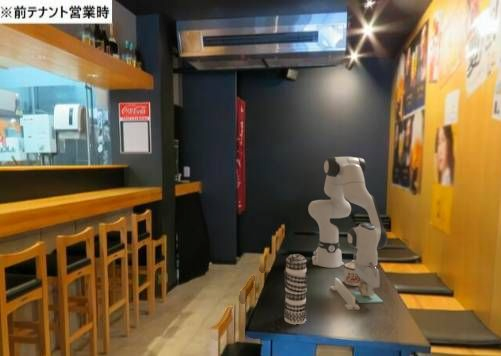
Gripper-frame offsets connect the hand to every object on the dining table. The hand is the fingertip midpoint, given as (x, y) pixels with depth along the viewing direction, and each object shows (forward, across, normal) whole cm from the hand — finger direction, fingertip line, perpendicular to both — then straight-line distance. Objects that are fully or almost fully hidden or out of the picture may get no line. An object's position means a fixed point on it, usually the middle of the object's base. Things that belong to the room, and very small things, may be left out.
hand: (366, 289), depth 152 cm
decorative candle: (+4, -20, +36) cm, 41 cm away
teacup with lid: (+4, +18, -2) cm, 18 cm away
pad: (+4, 0, 0) cm, 4 cm away
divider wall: (+4, 0, +10) cm, 11 cm away
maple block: (+2, 0, 0) cm, 2 cm away
